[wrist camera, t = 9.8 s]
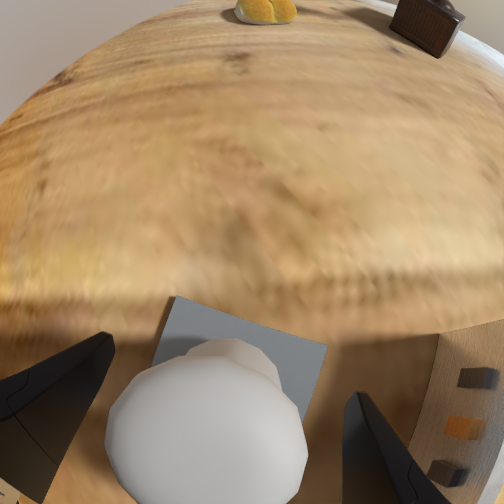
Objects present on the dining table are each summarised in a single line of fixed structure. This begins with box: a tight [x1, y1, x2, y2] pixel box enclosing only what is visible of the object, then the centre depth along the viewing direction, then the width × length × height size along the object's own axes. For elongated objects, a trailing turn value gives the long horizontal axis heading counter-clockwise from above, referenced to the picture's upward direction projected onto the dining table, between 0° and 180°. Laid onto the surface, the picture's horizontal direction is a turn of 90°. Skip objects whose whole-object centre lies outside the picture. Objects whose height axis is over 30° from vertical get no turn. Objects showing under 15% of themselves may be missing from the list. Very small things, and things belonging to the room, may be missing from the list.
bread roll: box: [234, 0, 297, 25], centre depth 30 cm, size 8×9×4 cm
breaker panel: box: [407, 319, 504, 504], centre depth 11 cm, size 16×3×9 cm, turn 161°
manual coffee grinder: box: [389, 0, 465, 59], centre depth 25 cm, size 16×11×18 cm
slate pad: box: [150, 295, 328, 424], centre depth 16 cm, size 10×10×1 cm
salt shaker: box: [104, 338, 308, 504], centre depth 10 cm, size 6×6×13 cm
